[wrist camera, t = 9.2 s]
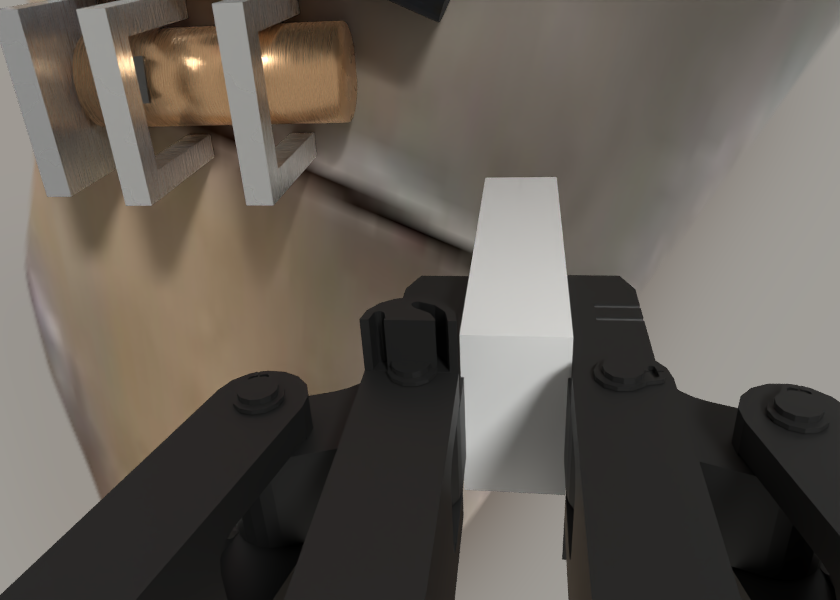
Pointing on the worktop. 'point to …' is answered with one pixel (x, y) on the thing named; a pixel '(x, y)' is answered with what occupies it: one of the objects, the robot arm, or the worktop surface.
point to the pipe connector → (425, 7)
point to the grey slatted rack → (122, 103)
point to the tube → (205, 84)
